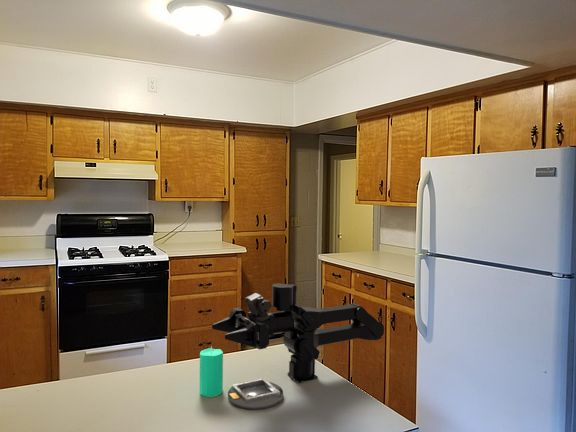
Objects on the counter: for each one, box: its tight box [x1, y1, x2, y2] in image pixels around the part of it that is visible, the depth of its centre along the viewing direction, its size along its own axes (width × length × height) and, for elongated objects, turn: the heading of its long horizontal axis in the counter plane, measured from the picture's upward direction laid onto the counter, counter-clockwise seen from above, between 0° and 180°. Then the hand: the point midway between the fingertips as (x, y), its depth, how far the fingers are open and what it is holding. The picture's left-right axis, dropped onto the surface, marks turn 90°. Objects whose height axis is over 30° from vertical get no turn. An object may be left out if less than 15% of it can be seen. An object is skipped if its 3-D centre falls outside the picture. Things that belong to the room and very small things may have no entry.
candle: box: [199, 345, 224, 397], centre depth 115 cm, size 6×6×12 cm
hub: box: [227, 377, 284, 411], centre depth 113 cm, size 14×14×2 cm
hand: (218, 331), depth 113 cm, fingers open, 9 cm apart
